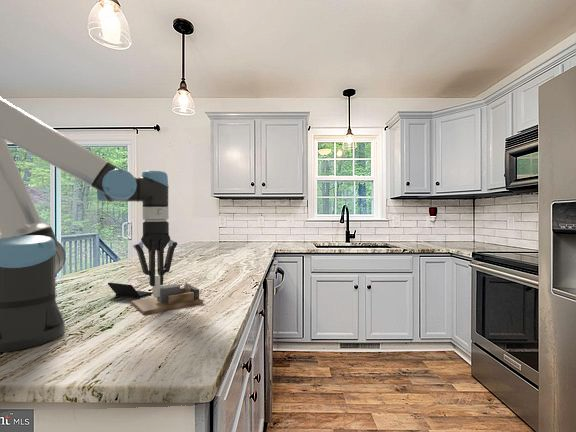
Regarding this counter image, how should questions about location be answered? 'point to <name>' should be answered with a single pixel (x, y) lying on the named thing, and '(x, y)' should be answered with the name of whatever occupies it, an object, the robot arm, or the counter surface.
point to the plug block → (168, 292)
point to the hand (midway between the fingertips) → (156, 295)
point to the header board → (169, 301)
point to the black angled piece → (127, 291)
